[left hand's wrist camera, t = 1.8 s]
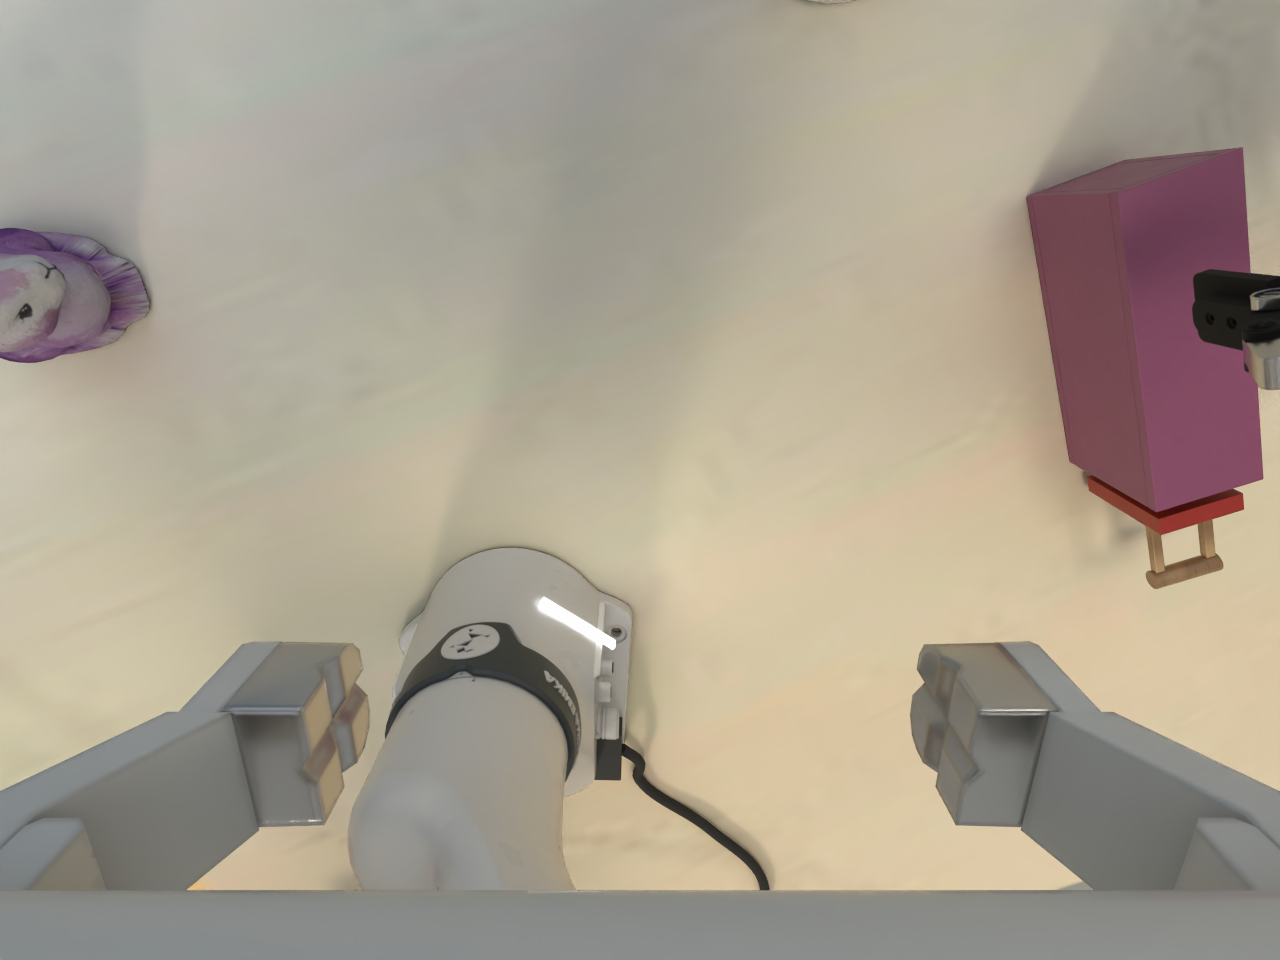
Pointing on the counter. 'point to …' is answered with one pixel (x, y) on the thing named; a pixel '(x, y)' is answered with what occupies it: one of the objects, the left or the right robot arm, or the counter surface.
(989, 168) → the counter surface
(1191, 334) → the cabinet
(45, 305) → the figurine
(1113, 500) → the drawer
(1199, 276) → the right robot arm
